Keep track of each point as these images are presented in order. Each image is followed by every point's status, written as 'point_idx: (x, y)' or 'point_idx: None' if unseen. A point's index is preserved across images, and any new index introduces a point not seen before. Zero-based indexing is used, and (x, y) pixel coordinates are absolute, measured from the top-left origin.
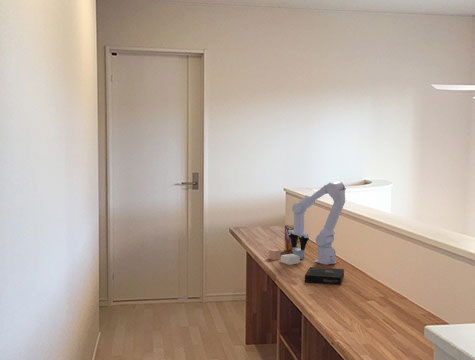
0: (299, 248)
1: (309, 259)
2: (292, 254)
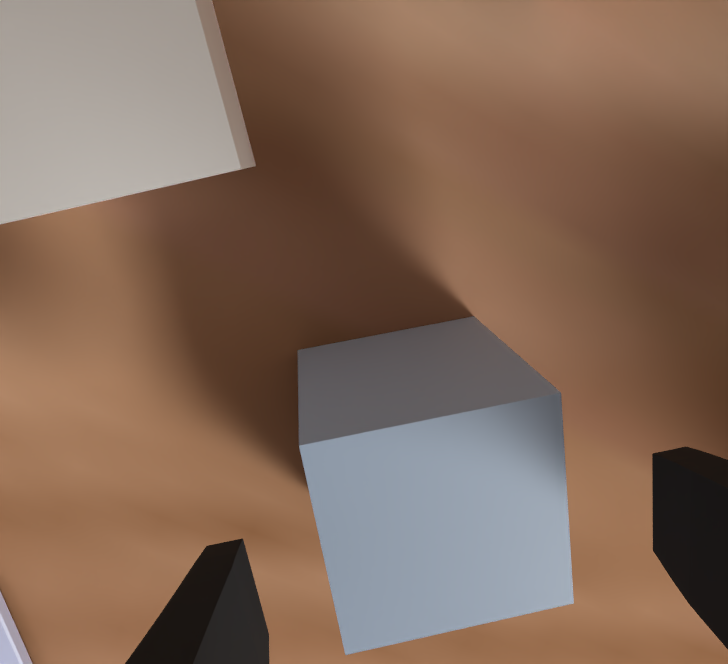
0: (554, 595)
1: None
2: (112, 148)
